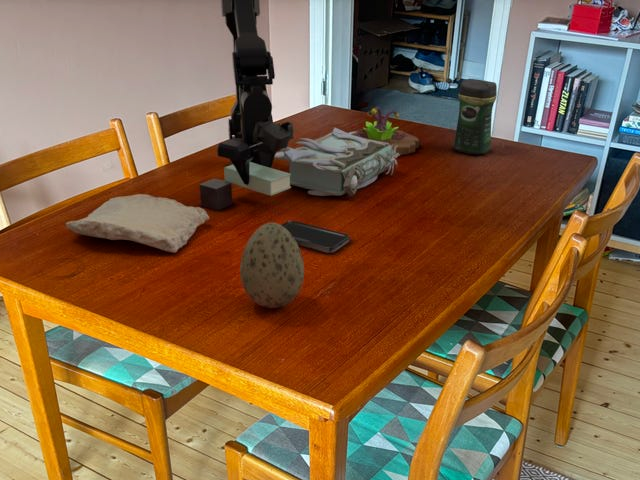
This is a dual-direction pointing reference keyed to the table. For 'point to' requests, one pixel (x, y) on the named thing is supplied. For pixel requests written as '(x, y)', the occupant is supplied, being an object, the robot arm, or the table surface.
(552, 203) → the table surface
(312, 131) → the table surface
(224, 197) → the block
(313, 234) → the phone
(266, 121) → the robot arm
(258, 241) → the decorative egg
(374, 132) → the plant
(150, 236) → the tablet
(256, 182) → the pocket book
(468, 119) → the coffee jar
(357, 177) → the ornate book
